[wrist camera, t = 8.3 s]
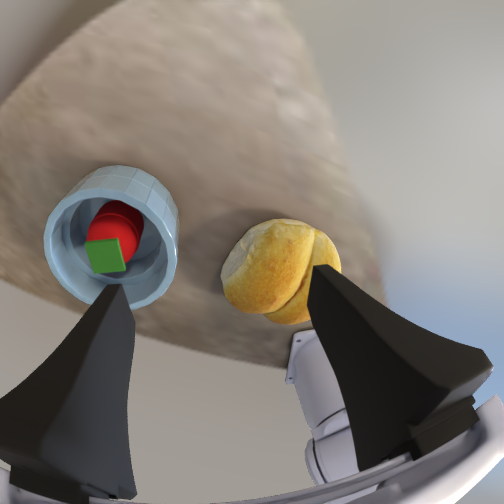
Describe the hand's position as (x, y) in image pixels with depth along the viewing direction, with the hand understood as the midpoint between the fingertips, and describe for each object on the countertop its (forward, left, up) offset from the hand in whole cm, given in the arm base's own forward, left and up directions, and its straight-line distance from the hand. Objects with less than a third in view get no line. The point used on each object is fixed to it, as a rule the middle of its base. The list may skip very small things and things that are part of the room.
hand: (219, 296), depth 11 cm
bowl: (-1, +6, -9) cm, 11 cm away
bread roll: (-6, -5, -10) cm, 12 cm away
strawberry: (-1, +6, -9) cm, 11 cm away
